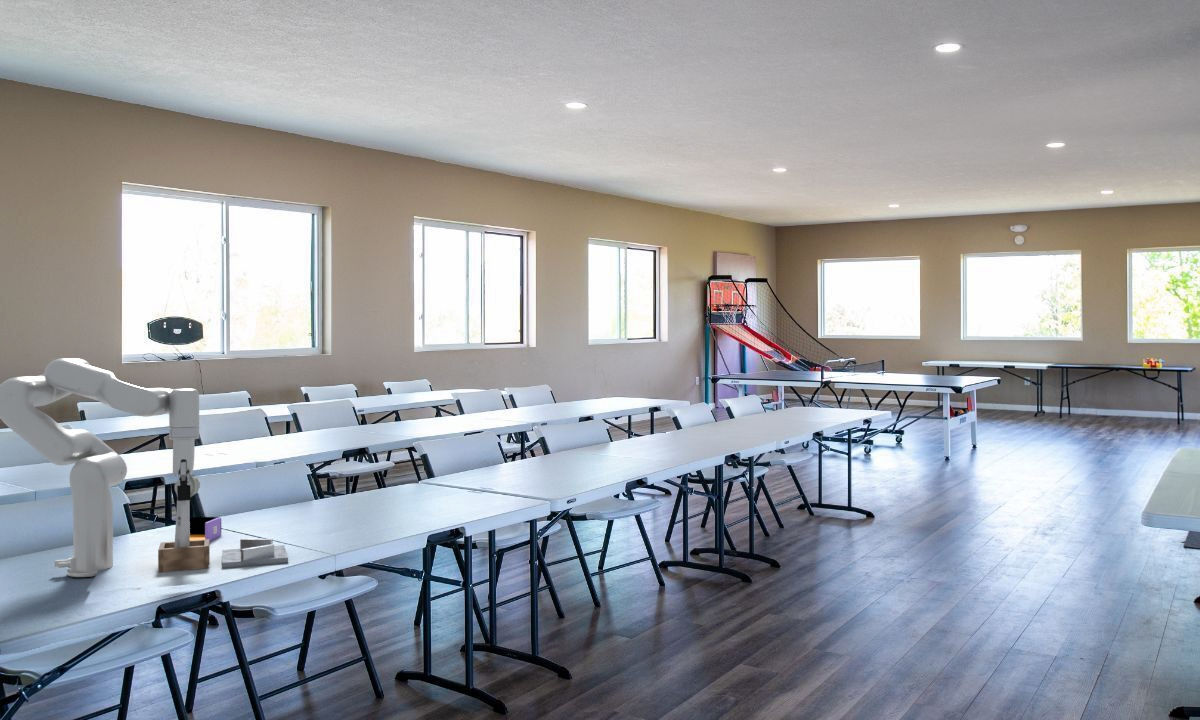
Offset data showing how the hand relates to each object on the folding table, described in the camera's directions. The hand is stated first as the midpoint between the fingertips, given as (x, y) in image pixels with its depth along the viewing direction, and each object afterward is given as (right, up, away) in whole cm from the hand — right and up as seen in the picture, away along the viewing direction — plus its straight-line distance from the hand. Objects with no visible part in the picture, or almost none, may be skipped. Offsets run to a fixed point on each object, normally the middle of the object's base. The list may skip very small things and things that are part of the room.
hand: (184, 497), depth 248 cm
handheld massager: (0, -19, 0) cm, 19 cm away
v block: (+16, -19, +9) cm, 26 cm away
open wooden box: (0, -19, 0) cm, 19 cm away
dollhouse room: (-12, -19, +35) cm, 42 cm away
